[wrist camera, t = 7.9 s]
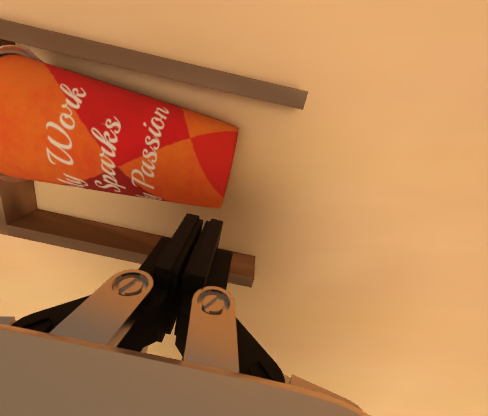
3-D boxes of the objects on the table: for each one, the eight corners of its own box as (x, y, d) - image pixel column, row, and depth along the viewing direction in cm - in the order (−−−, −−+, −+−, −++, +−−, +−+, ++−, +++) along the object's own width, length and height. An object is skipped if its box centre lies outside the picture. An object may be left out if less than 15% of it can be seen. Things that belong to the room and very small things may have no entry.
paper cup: (212, 248, 16) (-39, 200, 14) (220, 190, 22) (50, 152, 21) (243, 124, 12) (-100, 33, 10) (243, 98, 19) (34, 40, 17)
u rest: (252, 265, 24) (251, 287, 21) (27, 216, 23) (-4, 232, 21) (301, 92, 18) (308, 91, 15) (-4, 20, 17) (-54, 6, 14)
